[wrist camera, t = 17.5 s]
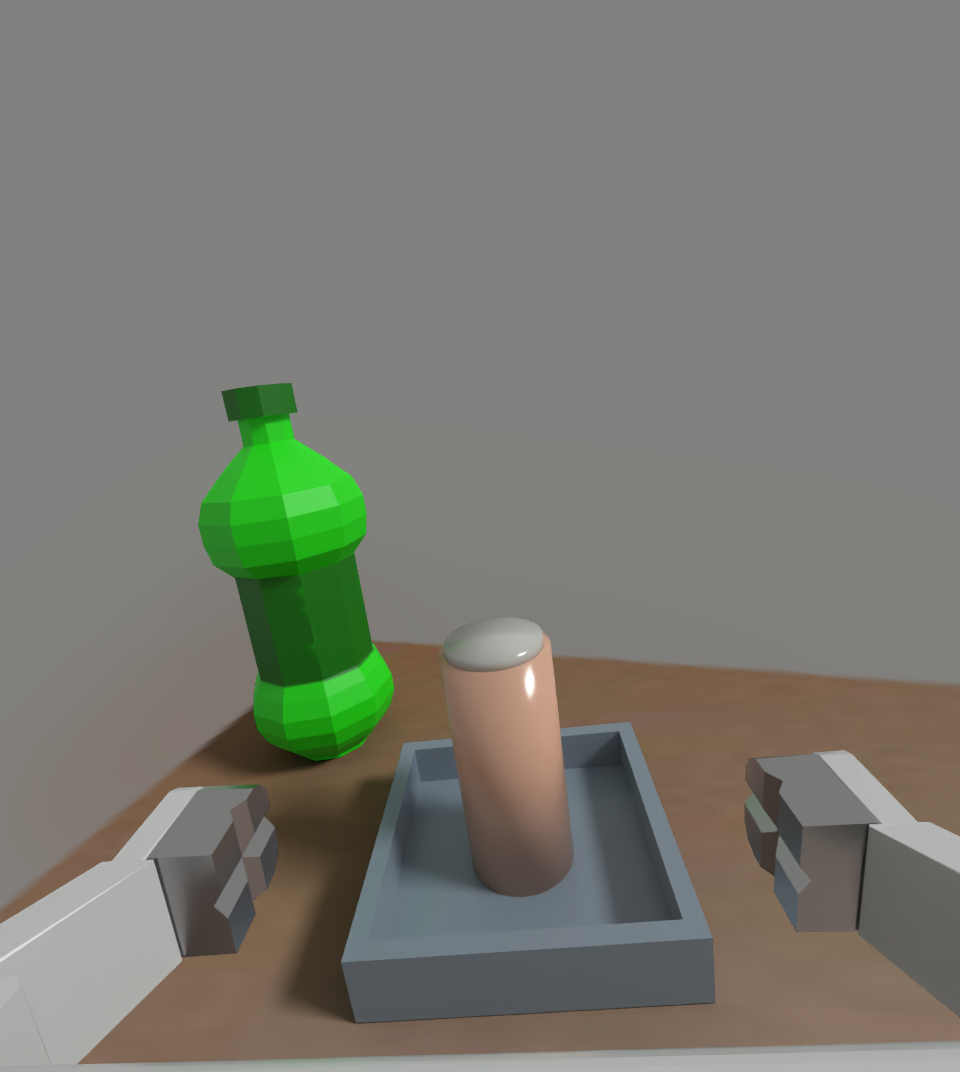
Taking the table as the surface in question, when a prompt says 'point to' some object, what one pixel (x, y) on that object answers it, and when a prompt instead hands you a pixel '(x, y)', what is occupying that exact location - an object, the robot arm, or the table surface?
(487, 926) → the shallow grey tray
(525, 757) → the pink cylindrical can
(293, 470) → the plastic bottle
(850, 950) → the table surface
